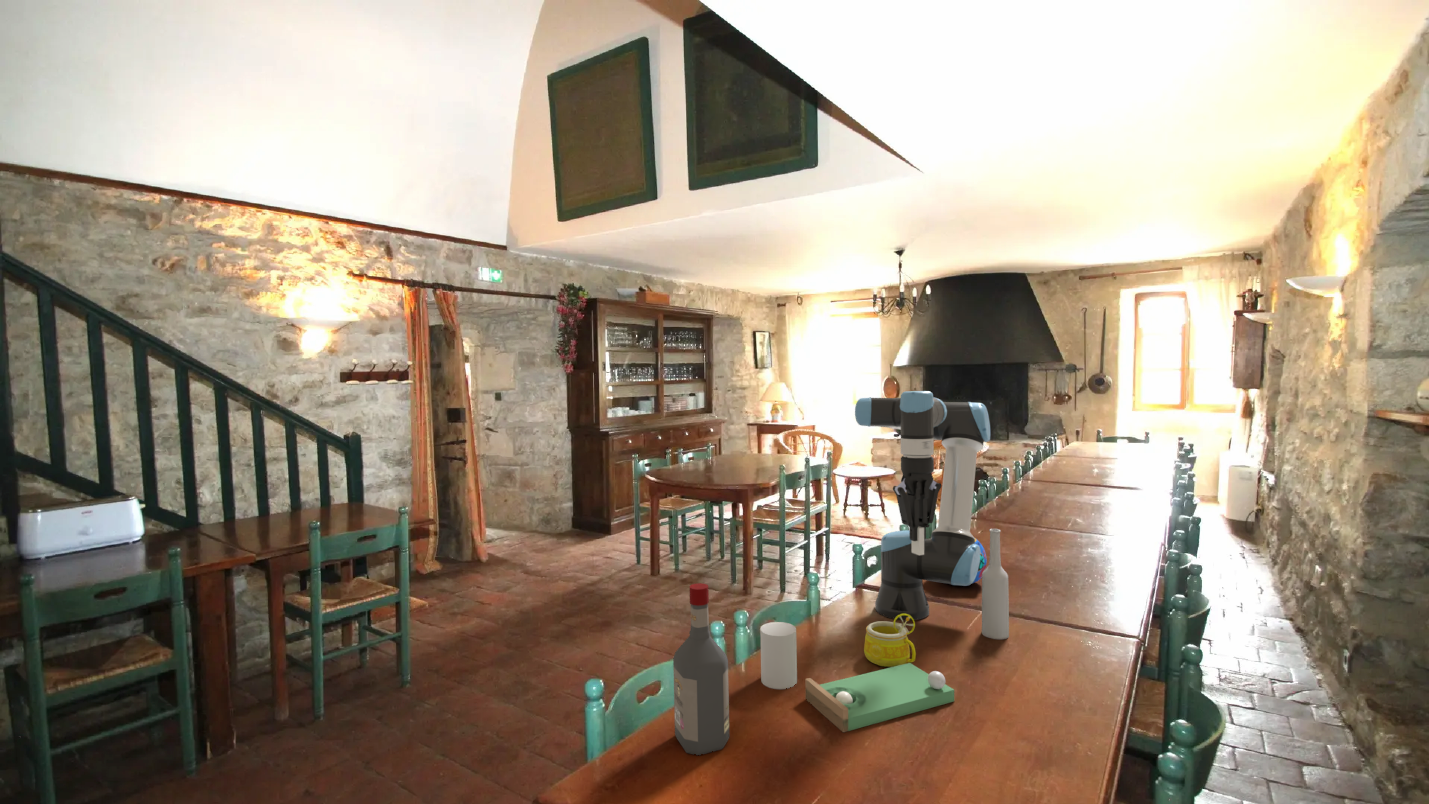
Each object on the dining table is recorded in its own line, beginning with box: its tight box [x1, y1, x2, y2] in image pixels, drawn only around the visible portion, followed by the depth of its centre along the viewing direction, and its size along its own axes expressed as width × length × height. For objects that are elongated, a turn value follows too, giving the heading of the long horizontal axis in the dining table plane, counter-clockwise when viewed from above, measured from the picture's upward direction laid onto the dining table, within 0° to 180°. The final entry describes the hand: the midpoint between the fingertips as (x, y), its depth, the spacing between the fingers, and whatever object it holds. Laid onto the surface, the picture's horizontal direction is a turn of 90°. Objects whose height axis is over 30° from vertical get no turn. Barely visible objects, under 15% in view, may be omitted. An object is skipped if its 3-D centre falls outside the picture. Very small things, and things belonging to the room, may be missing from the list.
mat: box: [804, 662, 955, 733], centre depth 136 cm, size 14×28×4 cm, turn 113°
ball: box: [836, 691, 853, 704], centre depth 132 cm, size 4×4×4 cm
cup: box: [759, 621, 798, 690], centre depth 145 cm, size 8×8×12 cm
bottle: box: [981, 528, 1010, 640], centre depth 168 cm, size 7×7×28 cm
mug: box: [863, 614, 917, 668], centre depth 154 cm, size 13×11×12 cm
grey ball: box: [928, 670, 946, 689], centre depth 135 cm, size 4×4×4 cm
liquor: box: [672, 582, 730, 756], centre depth 121 cm, size 9×9×30 cm
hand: (917, 553), depth 153 cm, fingers closed
